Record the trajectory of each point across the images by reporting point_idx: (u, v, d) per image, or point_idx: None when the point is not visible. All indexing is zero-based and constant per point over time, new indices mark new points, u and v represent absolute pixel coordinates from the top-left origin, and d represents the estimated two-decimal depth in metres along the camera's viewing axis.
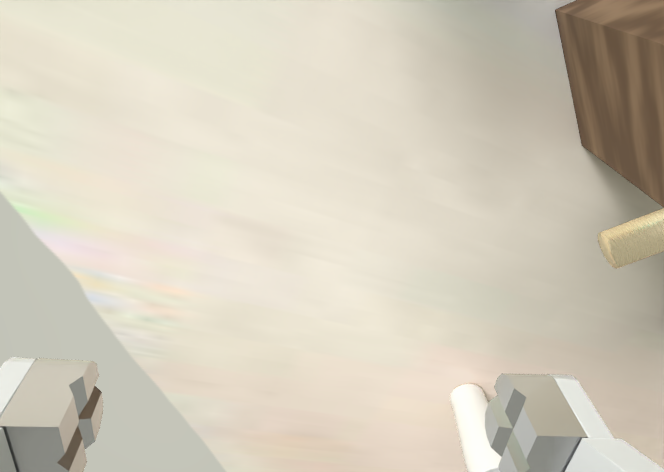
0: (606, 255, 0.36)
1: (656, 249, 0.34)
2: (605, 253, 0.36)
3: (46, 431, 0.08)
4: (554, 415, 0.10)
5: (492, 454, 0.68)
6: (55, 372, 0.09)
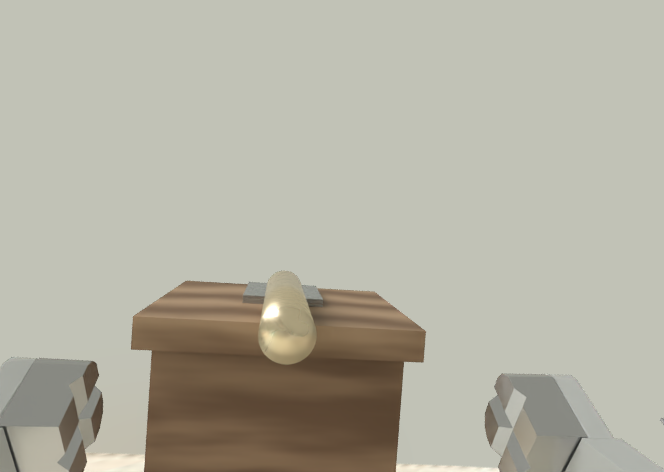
0: (302, 345, 0.23)
1: (293, 298, 0.26)
2: (300, 347, 0.23)
3: (46, 431, 0.08)
4: (554, 416, 0.10)
5: None
6: (55, 372, 0.09)
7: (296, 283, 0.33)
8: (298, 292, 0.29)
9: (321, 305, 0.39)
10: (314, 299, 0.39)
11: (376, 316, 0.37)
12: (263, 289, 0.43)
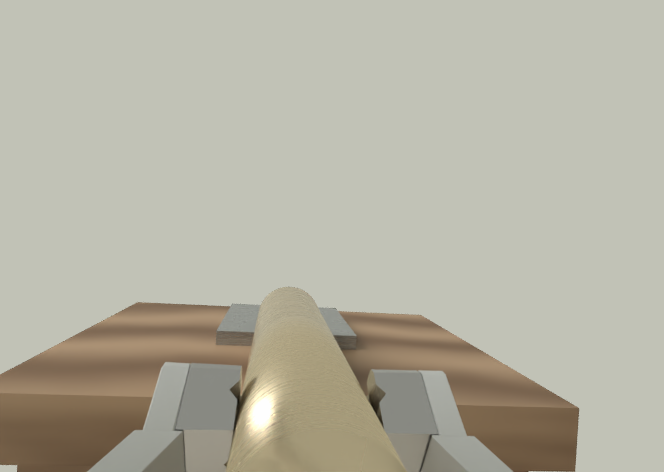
0: None
1: (327, 376, 0.09)
2: None
3: (220, 434, 0.09)
4: (410, 413, 0.09)
5: None
6: (213, 377, 0.10)
7: (316, 314, 0.16)
8: (328, 342, 0.12)
9: (354, 346, 0.23)
10: (341, 336, 0.23)
11: (458, 368, 0.20)
12: (253, 317, 0.26)
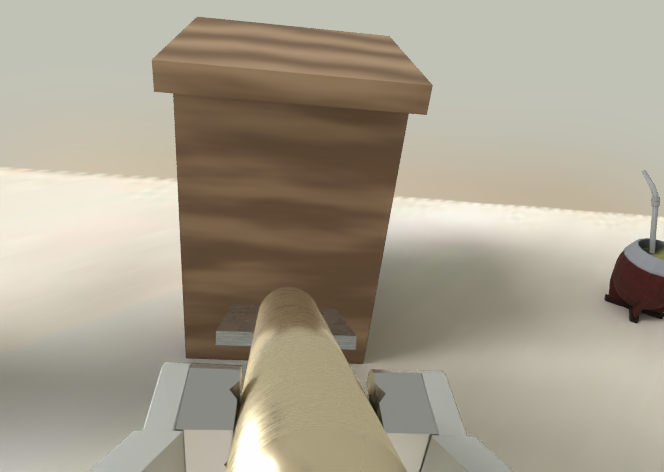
0: None
1: (327, 375, 0.09)
2: None
3: (220, 434, 0.09)
4: (410, 412, 0.09)
5: None
6: (213, 377, 0.10)
7: (316, 314, 0.17)
8: (328, 341, 0.12)
9: (353, 346, 0.23)
10: (341, 336, 0.23)
11: (387, 66, 0.38)
12: (253, 317, 0.26)
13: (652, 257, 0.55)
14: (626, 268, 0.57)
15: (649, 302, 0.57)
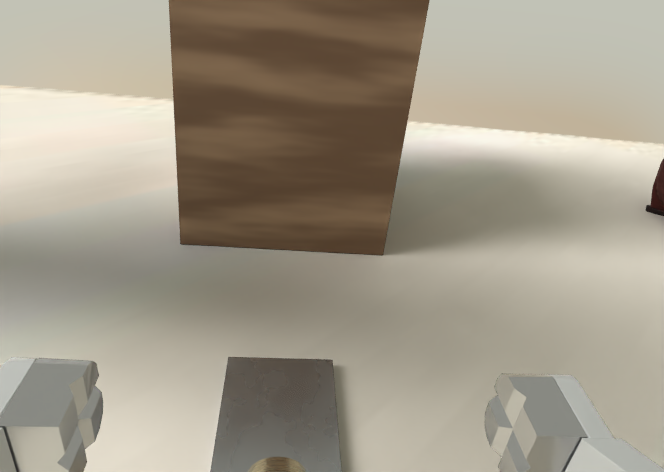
0: None
1: None
2: None
3: (46, 431, 0.08)
4: (554, 416, 0.10)
5: None
6: (55, 372, 0.09)
7: None
8: None
9: None
10: None
11: None
12: (247, 418, 0.26)
13: None
14: None
15: None
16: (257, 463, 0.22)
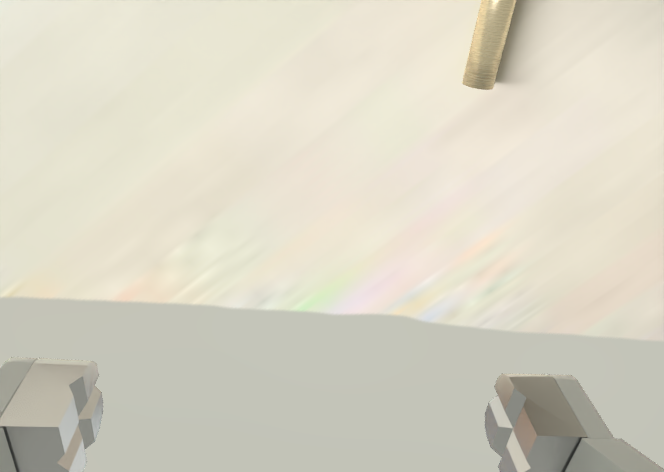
0: None
1: (493, 58, 0.42)
2: None
3: (46, 431, 0.08)
4: (554, 415, 0.10)
5: None
6: (55, 372, 0.09)
7: None
8: (508, 14, 0.40)
9: None
10: None
11: None
12: None
13: None
14: None
15: None
16: None
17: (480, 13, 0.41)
